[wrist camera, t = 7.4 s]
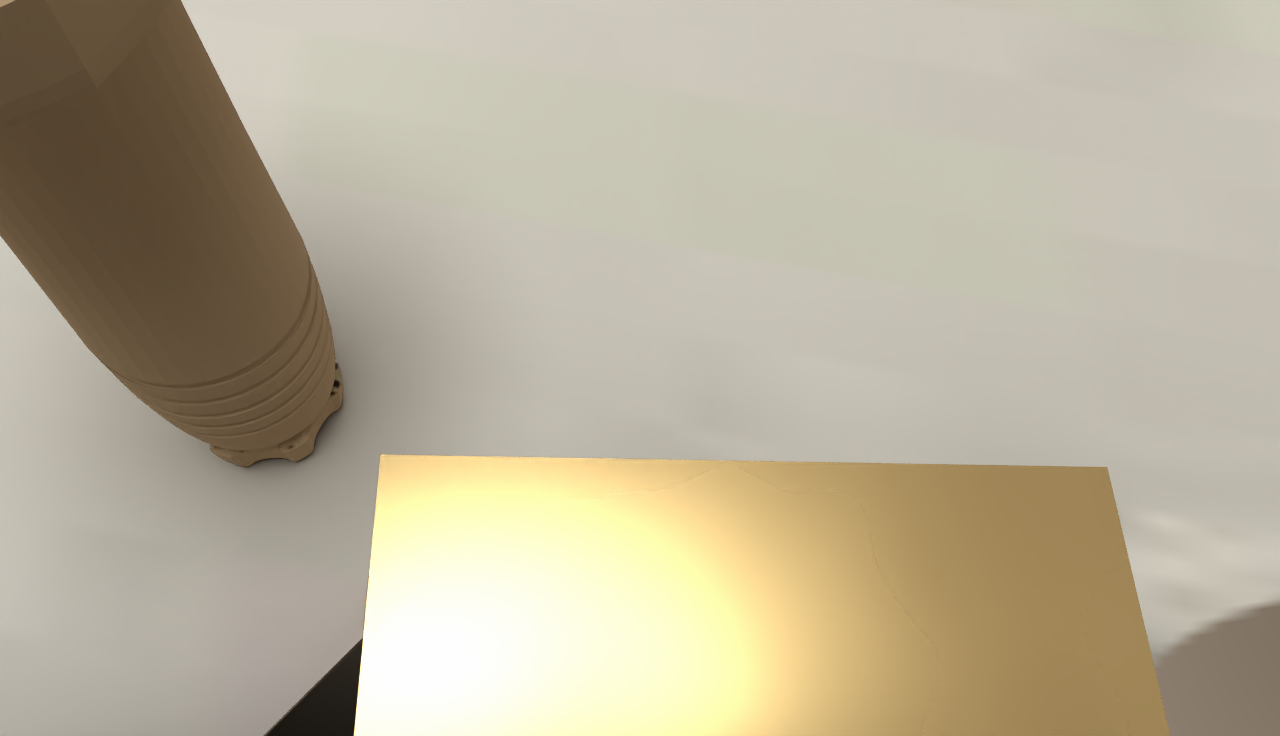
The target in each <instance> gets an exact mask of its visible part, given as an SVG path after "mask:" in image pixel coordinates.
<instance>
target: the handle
mask: <svg viewBox="0 0 1280 736" xmlns="http://www.w3.org/2000/svg"><path fill="white" fill-rule="evenodd" d="M0 236H1V237H2V238H3V240H4V241H5V242H6V243H7V245H8V246H9V247H10V248H11V250H12V251H13V252H14V254H15V255H16V256H17V257H18V259H19V260H20V261H21V263H22V264H23V265H24V266H25V268H26V269H27V270H28V272H29V273H30V274H31V275H32V277H33V278H34V279H35V281H36V282H37V283H38V284H39V286H40V287H41V288H42V290H43V291H44V292H45V293H46V295H47V296H48V297H49V299H50V300H51V301H52V302H53V304H54V305H55V306H56V308H57V309H58V310H59V311H60V313H61V314H62V315H63V317H64V318H65V319H66V320H67V322H68V323H69V324H70V326H71V327H72V328H73V329H74V331H75V332H76V333H77V335H78V336H79V337H80V338H81V340H82V341H83V342H84V344H85V345H86V346H87V347H88V349H89V350H90V351H91V352H92V353H93V354H94V355H95V356H96V357H97V358H98V359H99V360H100V361H101V362H102V363H103V364H104V365H105V366H106V367H107V368H108V369H109V370H110V371H111V372H112V373H113V374H114V375H115V376H116V377H117V378H118V379H119V380H120V381H121V382H122V383H123V384H124V385H125V386H126V387H127V388H128V389H129V390H130V391H131V392H132V393H134V394H135V395H136V396H137V397H138V398H139V399H140V400H141V401H143V402H144V403H145V404H147V405H148V406H149V407H150V408H152V409H153V410H154V411H155V412H157V413H158V414H159V415H161V416H162V417H163V418H165V419H166V420H167V421H169V422H170V423H172V424H173V425H175V426H176V427H178V428H179V429H181V430H183V431H184V432H186V433H187V434H189V435H191V436H194V437H196V438H198V439H200V440H202V441H204V442H207V443H209V444H211V447H210V449H211V451H212V452H213V453H215V454H216V455H217V456H219V457H220V458H222V459H224V460H226V461H228V462H231V463H234V464H236V465H240V466H243V467H247V466H250V465H252V464H253V463H254V462H256V461H259V460H262V459H268V458H285V459H289V460H291V461H298V460H300V459H302V458H304V457H306V456H307V455H309V454H310V453H312V452H313V450H314V441H315V438H316V435H317V433H318V431H319V429H320V427H321V425H322V424H323V423H324V421H325V420H326V418H327V417H328V416H329V415H330V414H331V413H332V412H334V411H336V410H338V409H339V408H340V407H341V404H342V396H343V383H342V377H341V372H340V367H339V365H338V363H337V362H335V351H334V343H333V337H332V331H331V326H330V322H329V318H328V314H327V311H326V307H325V303H324V299H323V296H322V293H321V289H320V286H319V283H318V280H317V277H316V274H315V271H314V269H313V266H312V264H311V261H310V258H309V255H308V252H307V250H306V247H305V245H304V242H303V239H302V237H301V235H300V233H299V232H298V230H297V228H296V226H295V224H294V222H293V220H292V218H291V216H290V214H289V212H288V210H287V208H286V207H285V205H284V203H283V201H282V199H281V197H280V195H279V193H278V191H277V189H276V187H275V185H274V183H273V182H272V180H271V178H270V176H269V174H268V172H267V170H266V168H265V166H264V164H263V162H262V160H261V158H260V157H259V155H258V153H257V151H256V149H255V147H254V145H253V143H252V141H251V139H250V137H249V135H248V133H247V132H246V130H245V128H244V126H243V124H242V122H241V120H240V118H239V116H238V114H237V112H236V110H235V108H234V106H233V104H232V102H231V100H230V98H229V96H228V94H227V92H226V90H225V88H224V86H223V84H222V82H221V80H220V78H219V76H218V74H217V72H216V70H215V68H214V66H213V64H212V62H211V60H210V58H209V56H208V54H207V52H206V50H205V48H204V46H203V44H202V42H201V40H200V38H199V36H198V34H197V32H196V30H195V28H194V26H193V24H192V22H191V20H190V18H189V16H188V14H187V12H186V10H185V8H184V6H183V4H182V2H181V0H0Z"/></svg>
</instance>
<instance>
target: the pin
mask: <svg viewBox="0 0 1280 736" xmlns="http://www.w3.org/2000/svg"><path fill="white" fill-rule="evenodd" d="M354 736H1170V732H1169V728H1168V723H1167V719H1166V715H1165V711H1164V706H1163V702H1162V698H1161V694H1160V689H1159V685H1158V681H1157V677H1156V672H1155V668H1154V664H1153V660H1152V655H1151V651H1150V647H1149V643H1148V638H1147V634H1146V630H1145V626H1144V621H1143V617H1142V613H1141V609H1140V604H1139V600H1138V596H1137V592H1136V587H1135V583H1134V579H1133V575H1132V571H1131V566H1130V562H1129V558H1128V554H1127V549H1126V545H1125V541H1124V537H1123V532H1122V528H1121V524H1120V520H1119V515H1118V511H1117V507H1116V503H1115V498H1114V494H1113V490H1112V486H1111V481H1110V477H1109V473H1108V469H1107V467H1065V466H1008V465H950V464H892V463H834V462H777V461H719V460H661V459H603V458H546V457H488V456H430V455H381V456H380V466H379V477H378V488H377V498H376V509H375V519H374V530H373V541H372V551H371V562H370V573H369V583H368V594H367V605H366V615H365V626H364V636H363V647H362V658H361V668H360V679H359V690H358V700H357V711H356V722H355V732H354Z"/></svg>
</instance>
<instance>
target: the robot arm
mask: <svg viewBox="0 0 1280 736" xmlns="http://www.w3.org/2000/svg"><path fill="white" fill-rule="evenodd" d="M362 647H363V638H362V639H361V640H360V641H359V642H358V643H357V644H356V645H355V646H354V647H353V648H352V649H351V650H350V651H349V652H348V653H347V654H346V655H345V656H344V657H343V658H342V659H341V660H340V661H339V662H338V663H337V664H336V665H335V666H334V667H333V668H332V669H331V670H330V671H329V672H328V673H327V674H326V675H325V676H324V677H323V678H322V679H321V680H320V681H319V682H318V683H317V684H315V685H314V686H313V687H312V688H311V689H310V690H309V691H308V692H307V693H306V694H305V695H304V696H303V697H302V698H301V699H300V700H299V701H298V702H297V703H296V704H295V705H294V706H293V707H292V708H291V709H290V710H289V711H288V712H287V713H286V714H285V715H284V716H283V717H282V718H281V719H280V720H279V721H278V722H277V723H276V724H275V725H274V726H273V727H272V728H271V729H270V730H269V731H268V732H267V733H266V734H265V735H264V736H354V732H355V722H356V711H357V700H358V690H359V679H360V668H361V658H362Z"/></svg>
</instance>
